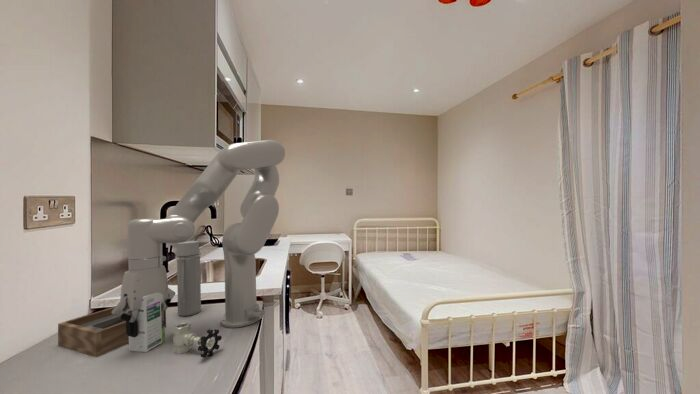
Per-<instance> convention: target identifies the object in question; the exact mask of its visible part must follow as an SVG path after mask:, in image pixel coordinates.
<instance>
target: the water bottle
mask: <svg viewBox="0 0 700 394" xmlns="http://www.w3.org/2000/svg"><path fill="white" fill-rule="evenodd" d="M176 244H177V245H176V254H175V255H176V256H175V260H176V264H177V265H176V272H177V274H176V275H177V277H176V278H177V279H176V280H177V282H176V283H177V314H178V316H180V317H188V316H190V317H191V316H193V315H196V314H198V313H199V312H201V309H202V295H201V294H202V289H201V288H202V287H201V280H202V279H201V255H202V254H201V251H200V243H199V241H198V240H187V241H185V242H182V243H176Z"/></svg>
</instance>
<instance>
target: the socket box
mask: <svg viewBox="0 0 700 394" xmlns="http://www.w3.org/2000/svg"><path fill="white" fill-rule="evenodd" d="M116 306H117V305H115V306H111V307H108V308H105V309H102V310H99V311H95V312H92V313H90V314H86V315H83V316H79V317H76V318H72V319H69V320H66V321H63V322H60V323H57V339H58V340H57V345H58V346H59V347H62V348H65V349H68V350H72V351H75V352H77V353H81V354H85V355H87V356H91V357H93V358H97V357H99V356H102V355H104V354H107V353H108V352H111V351H114V350H116V349H118V348H121V347H123V346H125V345H127V344H128V345H129V336H128V335H127V333H126V321H124V320H122V319H120V318H119V317H117V316H115V315H114V314H112V310H113V309H114V308H115V307H116ZM122 311H123V312H124V313H126V312H127V309H123V310H122ZM164 327H165V328H166V327H167V310H165V325H164Z"/></svg>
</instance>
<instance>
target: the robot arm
mask: <svg viewBox="0 0 700 394" xmlns="http://www.w3.org/2000/svg"><path fill="white" fill-rule="evenodd" d="M285 156H286V151H285V147H284V146H283V145H282V143H280V142H279V141H277V140H275V139H264V140H263V139H262V140H254V141H243V142H234V143H230V144H228V145H227V146H224V147H223V148H222V149H221V150H219V151H218V152H217V154H216V155H215V156H214V158H213V159H212V160H211V161H210V163H209V164H208V165H207V166H206V168H204V170H203V171H202V173H201V174H200V175H199V176H198V178H197V179H196V180H195V181H194V182H193V183H192V185H191V186H190V187H189V188H188V190H187V191H186V193H185V194H184V195H183V197H182V198H181V199H179V201H178V202H177V203H176V205H175V206H174V207H173V209H172V210H171V211H169V213H168V214H167V216H166V217H165V218H157V217H156V218H155V217H151V218H149V217H148V218H136V219H135V218H134V219H132V220H130V221H129V222H128V224H127V230H128V231H127V235H128V236H127V237H128V238H127V243H128V244H127V247H128V248H127V249H128V250H127V251H128V252H127V254H128V257H127V258H128V260H127V261H128V263H127V264H128V270H126V271H124V274H123V277H122V281H121V287H120V289H121V290H120V301H119V302H118V303H117V305H115V306H116V307H115V306H114V307H115V308H114V309H113V310H112V314H114V315H115V316H117V317H119V318H120V319H122V320H124V321H126V333H127V335H128V336H130V337H137V336H138V322H137V321H135V319H136V316H137V314H138V311H139V309H141V307H142V297H143V296H146V295H150V294H153V293H161V294H163V299H164V325H165V310H166V311H167V310H168V306H169V305H170V303H171V302H172V300H173V299H174V296H175V295H176V292H175V291H174V290H172V289H171V288H170V287H169V282H168V281H169V280H168V273H167V269H166V267H165V265H163V264H164V261H165V262H166V261H167V256H166V255H163V244H177V243H182V242H186V241H190V240H191V238H193V237H194V235H195V232H196V228H195V222H196V221H197V219H199V217H200V216H201V215H202V213H204V211H206V210H207V208H209V207H210V206H211V205H213V204H214V203H216V202H218V200H219V199H220V198H222V196H223V195H224V193H225V192H226V191H227V189H228V187H229V186H230V185H231V183H232V182H233V181H234V180H235V178H236V177H237V176H238V174H239V173H240V172H241V171H245V170H254V173H255V174H254V178H253V181H252V183H251V186H250V187H249V189H248V191H247V193H246V195H245V197H244V198H243V199H242V202H241V204H240V207H239V209H240V210H239V211H240V215H241V216H242V218H243V219H242V220H241V222H235V223H232V224H230V225H229V226H228V227H226V229H225V230H224V231H223V234H222V238H221V240H222V241H221V243H222V250H223V251H222V252H223V258H224V262H223V263H224V296H225V297H224V298H225V299H224V303H225V304H224V305H225V306H224V307H225V314H224V315H223V316H222V317H221V318H220V320H219V323H220V325H221V326H222V327H224V328H232V329H233V328H241V327H247V326H250V325H252V324H255V323H256V322H258V321H260V320H261V319H263V317H264V315H265V314H266V310H265V309H260V304H258V303H257V274H256V270H257V268H256V267H257V266H256V265H257V264H256V256H255V255H256V254H257V253H259V252H260V251H261V250H262V248H263V247H264V245H265V244H266V241H268V238H269V236H270V234H271V232H272V229H273V227H274V226H275V223H276V221H277V219H278V216H279V212H280V205H279V202H278V199H277V198H276V196H275V195H276V193H277V191H278V188H279V185H280V174H279V170H278V167H277V166H278V165H280V164H281V163H282V162H283V161H284V159H285ZM123 309H127V312H126V313H124V312H123V311H122V310H123Z"/></svg>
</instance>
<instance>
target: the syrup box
mask: <svg viewBox="0 0 700 394" xmlns="http://www.w3.org/2000/svg"><path fill="white" fill-rule="evenodd" d="M135 321H137V322H138V336H137V337H130V336H129V343H128V350H129V351H130V352H137V353H148V352H149V351H151V350H152V349H154V348H155V347H157V346H159V345H161V344H163V343H164V342H165V339H166V338H165V337H166V335H165V328H164V299H163V294H161V293H153V294H150V295H146V296H143V297H142V307H141V309H139V311H138V314H137V316H136V319H135Z"/></svg>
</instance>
